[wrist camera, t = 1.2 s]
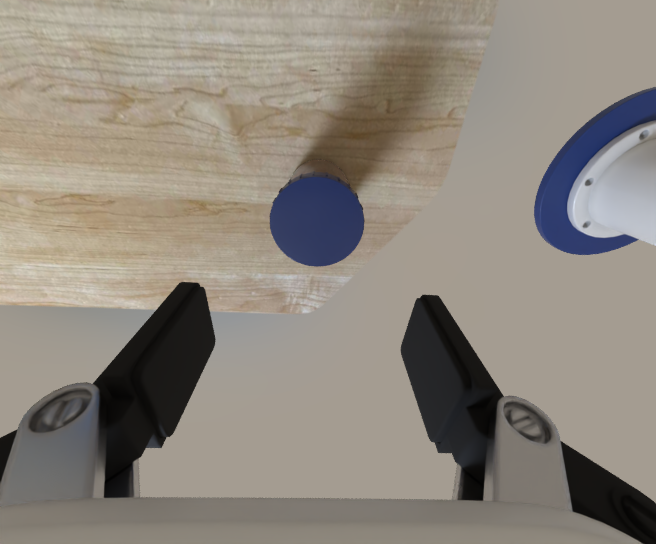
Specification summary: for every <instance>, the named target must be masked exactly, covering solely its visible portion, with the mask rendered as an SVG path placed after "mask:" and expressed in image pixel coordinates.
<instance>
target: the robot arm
mask: <svg viewBox="0 0 656 544" xmlns="http://www.w3.org/2000/svg"><path fill="white" fill-rule="evenodd" d="M567 213H568V217H569V220H570V222H571V224H572V225H573V226H574V227H575V228H576V229H577V230H578V231H580V232H583V233H585V234H587V235H590V236H593V237H600V238H607V237H615V236H619V235H623V234H626V235H629V236H631V237H634V238H637V239H639V240H642V241H644V242H647V243H650V244H652V245H655V246H656V120H655V121H650V122H647V123H644V124H641V125H638V126H636V127H634V128H632V129H630V130H627V131H625V132H624V133H622V134H621V135H619V136H618V137H616V138H614V139H613V140H612V141H610V142H609V143H608V144H607V145H605V146H604V147H603V148H602V149H600V150H599V151H598V152H597V153H596V154H595V155H594V156H593V157H592V158H591V159H590V160H589V162H588V163H587V164H586V165H585V167H584V168H583V169H582V171H581V172H580V174H579V175H578V177H577V179H576V180H575V182H574V184H573V186H572V189H571V191H570V194H569V198H568V202H567ZM214 346H215V335H214V330H213V325H212V320H211V316H210V311H209V306H208V302H207V297H206V292H205V289H204V287H200V285H199V283H191V282H181V283H179V284H178V285H177V287H176V288H175V289H174V290H173V291H172V292H171V294H170V295H169V296H168V297H167V298H166V299H165V301H164V302H163V303H162V304H161V305H160V306H159V307H158V309H157V310H156V311H155V312H154V314H153V315H152V316H151V317H150V318H149V319H148V320H147V321H146V323H145V324H144V325H143V326H142V327H141V328H140V330H139V331H138V332H137V333H136V334H135V335H134V337H133V338H132V339H131V340H130V341H129V342H128V343H127V345H126V346H125V347H124V348H123V349H122V350H121V352H120V353H119V354H118V355H117V356H116V357H115V359H114V360H113V361H112V362H111V363H110V364H109V365H108V367H107V368H106V369H105V370H104V371H103V372H102V374H101V375H100V376H99V377H98V378H97V379H96V381H95V382H94V383H93V384H91V383H87V382H86V383H75V384H72V385H67V386H65V387H62V388H60V389H58V390H55V391H53V392H52V393H50V394H48V395H47V396H45V397H43V398H42V399H41V400H39V401H38V402H37V403H36V404H34V405H33V406H32V407H31V408H30V409H29V410H28V412H27V413H26V414H25V415H24V416H23V418H22V420H21V422H20V424H19V427H18V429H17V430H15V431H13V432H11V433H9V434H7V435H5V436H3V437H1V438H0V544H656V503H655V502H654V501H652V500H651V499H650V498H648V497H647V496H645V495H644V494H643V493H641V492H640V491H639V490H637V489H635V488H634V487H632V486H630V485H629V484H627V483H626V482H624V481H623V480H621V479H619V478H618V477H616V476H615V475H613V474H612V473H610V472H609V471H607V470H605V469H604V468H602V467H601V466H599V465H597V464H596V463H594V462H593V461H591V460H590V459H588V458H587V457H585V456H583V455H582V454H580V453H579V452H577V451H576V450H574V449H572V448H571V447H569V446H568V445H566V444H565V443H563V442H561V441H560V436H559V433H558V431H557V428H556V427H555V425H554V424H553V422H552V421H551V419H550V418H549V417H548V416H547V415H546V414H545V413H544V412H543V411H542V410H541V409H539V408H538V407H537V406H535V405H534V404H532V403H530V402H529V401H527V400H525V399H522V398H519V397H516V396H505V397H504V396H503V394H502V393H501V391H500V390H499V388H498V387H497V385H496V384H495V382H494V381H493V379H492V378H491V376H490V374H489V373H488V371H487V370H486V368H485V367H484V365H483V364H482V362H481V361H480V359H479V358H478V356H477V354H476V353H475V351H474V350H473V348H472V347H471V345H470V343H469V342H468V340H467V339H466V337H465V336H464V334H463V333H462V331H461V330H460V328H459V326H458V325H457V323H456V322H455V320H454V319H453V317H452V316H451V314H450V313H449V311H448V310H447V308H446V306H445V305H444V303H443V302H442V300H441V299H440V297H439V296H437V295H422V296H421V297H420V298H417V300H416V302H415V304H414V308H413V311H412V314H411V317H410V320H409V323H408V326H407V330H406V332H405V335H404V339H403V342H402V345H401V355H402V358H403V361H404V364H405V367H406V370H407V373H408V376H409V379H410V382H411V385H412V388H413V391H414V394H415V398H416V400H417V403H418V407H419V410H420V413H421V416H422V419H423V422H424V425H425V428H426V431H427V434H428V437H429V439H430V441H431V442H435V445H436V448H437V451H438V453H452V455H453V457H454V460H455V462H456V463H457V470H456V476H455V482H454V489H453V496H452V500H422V499H414V500H413V499H339V498H337V499H335V498H331V499H330V498H152V497H151V498H150V497H149V498H148V497H146V498H143V497H140V485H139V484H140V483H139V460H138V458H140V457H141V456H142V454H143V452H144V450H145V448H162V446H163V444H164V441H165V439H166V437H170V436H171V435H172V434H173V433H174V431H175V429H176V427H177V424H178V422H179V420H180V418H181V416H182V414H183V412H184V410H185V407H186V406H187V403H188V401H189V399H190V397H191V395H192V393H193V391H194V389H195V387H196V384H197V382H198V380H199V378H200V376H201V373H202V372H203V370H204V367H205V365H206V363H207V361H208V359H209V357H210V355H211V352H212V351H213V348H214Z"/></svg>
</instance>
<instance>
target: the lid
mask: <svg viewBox="0 0 656 544" xmlns="http://www.w3.org/2000/svg"><path fill="white" fill-rule="evenodd" d="M270 229H271V233H272V236H273V238H274V240H275V242H276V244H277V245H278V247H279V248H280V249H281V250H282V251H283V253H284V254H286V255H287V256H288V257H289V258H291V259H293V260H294V261H296V262H298V263H301V264H304V265H308V266H327V265H331V264H334V263H337V262H339V261H341V260H343V259H344V258H346V257H347V256H348V255H349V254H351V253H352V251H353V250H354V249H355V248H356V246H357V245H358V243H359V241H360V239H361V237H362V234H363V230H364V215H363V207H362V205H361V204H360V202H359V200H358V196H357V193H355V192H354V191H353V190H352V188H351V187H350V185H349V183H348V184H347V183H346V182H344V181H343V180H341V179H340V177H339V176H338V177H336V176H334V175H331V174H328V173H327V172H326V173H322V172H315V171H313V172H312V173H306V174H302V173H301V174H300V176H297V177H295V178H294V179H292V180H291V179H290V180H289V182H288V183H287V184H286V185H285V186H284V187H283V188H281V189H280V191H279V194H278V196H277V198H275V199H274V201H273V206H272V209H271V213H270Z"/></svg>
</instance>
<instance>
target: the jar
mask: <svg viewBox="0 0 656 544" xmlns="http://www.w3.org/2000/svg"><path fill="white" fill-rule="evenodd" d="M313 171H315V172H322V173H326V172H327V173H328V174H331V175H334V176H336V177H338V176H339V177H340V179H341V180H343V181H344V182H346V183H347V184H348V180H347V178H346V176H345V174H344V173H343V171H342V170H341V169H340V168H339V167H338V166H337V165H335V164H334V163H332V162H330V161H327V160H322V159H316V160H310V161H307V162H305V163H303V164H302V165H300V166H299V167H298V168H297V169H296V170H295V172H294V173H293V175H292V177H291V180H292V179H294V178H295V177H297V176H300V174H301V173H302V174H306V173H312V172H313Z"/></svg>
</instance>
